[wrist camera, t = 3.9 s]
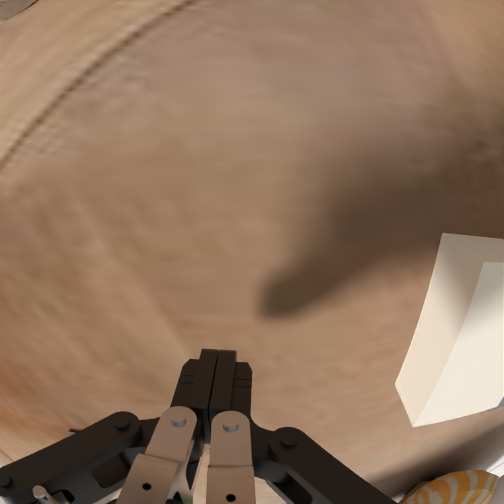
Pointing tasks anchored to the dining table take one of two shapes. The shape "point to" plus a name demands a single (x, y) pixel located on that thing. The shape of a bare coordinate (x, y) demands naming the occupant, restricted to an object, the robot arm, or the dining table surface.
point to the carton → (458, 334)
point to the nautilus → (455, 489)
